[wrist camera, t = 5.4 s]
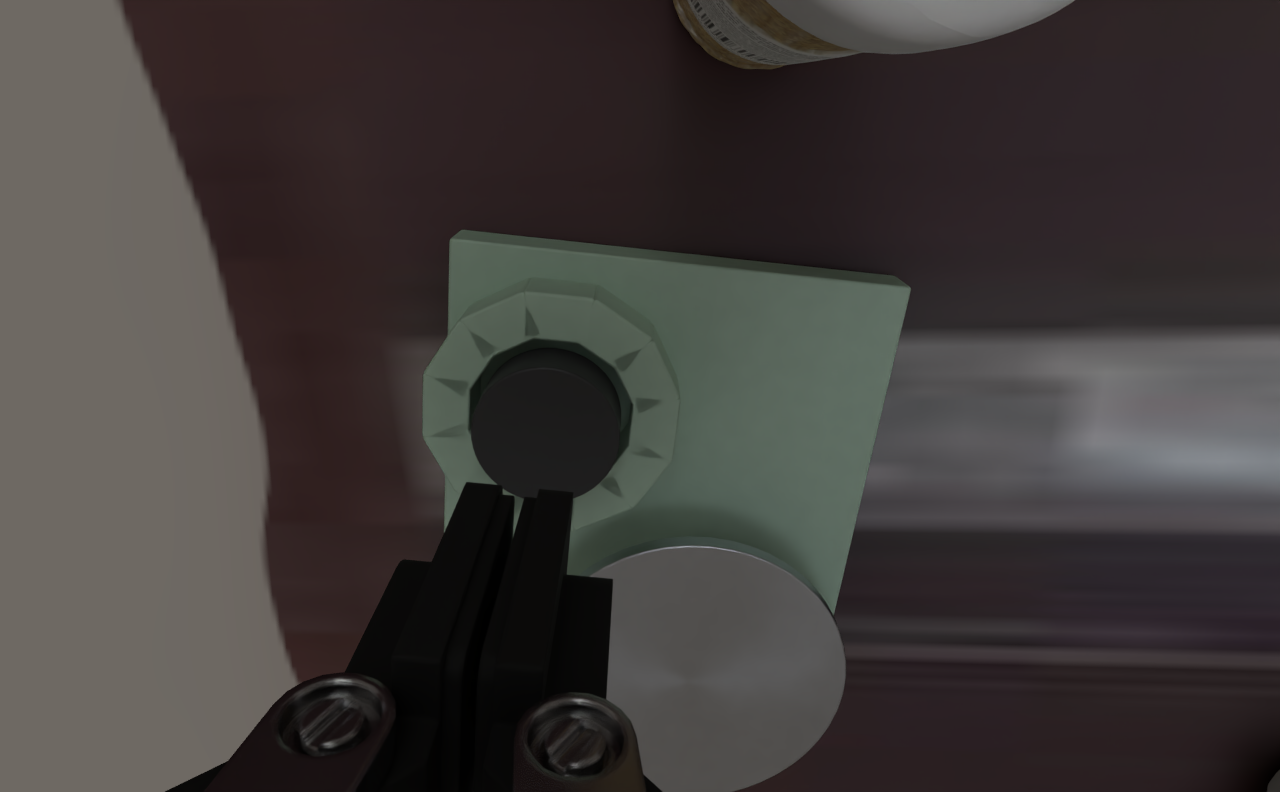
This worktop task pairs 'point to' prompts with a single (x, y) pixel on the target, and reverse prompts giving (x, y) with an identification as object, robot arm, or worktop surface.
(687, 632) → the platter
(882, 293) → the scale
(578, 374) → the power button
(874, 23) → the sprinkles bottle
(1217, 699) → the worktop surface
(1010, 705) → the worktop surface
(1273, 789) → the soap bottle
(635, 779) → the robot arm
